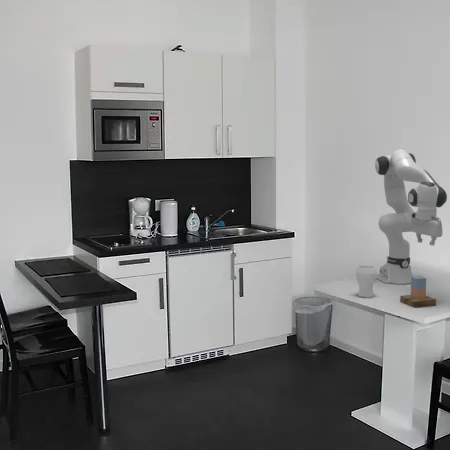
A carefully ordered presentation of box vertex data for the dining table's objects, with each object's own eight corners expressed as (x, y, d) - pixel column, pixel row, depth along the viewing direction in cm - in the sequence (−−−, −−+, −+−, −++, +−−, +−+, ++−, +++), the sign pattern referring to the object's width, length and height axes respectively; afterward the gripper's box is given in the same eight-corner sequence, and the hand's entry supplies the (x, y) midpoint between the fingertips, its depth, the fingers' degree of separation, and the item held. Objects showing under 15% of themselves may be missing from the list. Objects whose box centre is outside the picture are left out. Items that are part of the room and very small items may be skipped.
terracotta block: (410, 296, 303) (410, 286, 302) (419, 295, 305) (419, 286, 304) (416, 299, 298) (417, 289, 298) (425, 298, 300) (426, 288, 299)
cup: (373, 299, 312) (373, 269, 310) (352, 296, 317) (353, 267, 315) (378, 294, 321) (379, 265, 319) (358, 292, 326) (359, 264, 324)
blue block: (410, 286, 302) (411, 276, 302) (419, 286, 304) (419, 276, 303) (417, 289, 298) (417, 278, 297) (425, 288, 299) (426, 278, 299)
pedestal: (400, 301, 306) (400, 295, 305) (420, 299, 309) (420, 293, 309) (414, 307, 294) (415, 301, 294) (436, 305, 298) (436, 299, 298)
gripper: (446, 217, 291) (445, 246, 293) (419, 213, 310) (418, 240, 312) (435, 218, 289) (434, 247, 291) (408, 213, 308) (408, 241, 310)
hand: (425, 243), depth 301 cm, fingers open, 8 cm apart
